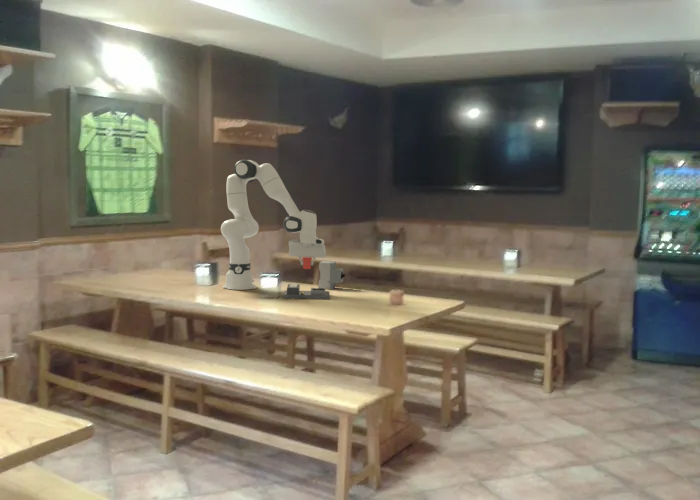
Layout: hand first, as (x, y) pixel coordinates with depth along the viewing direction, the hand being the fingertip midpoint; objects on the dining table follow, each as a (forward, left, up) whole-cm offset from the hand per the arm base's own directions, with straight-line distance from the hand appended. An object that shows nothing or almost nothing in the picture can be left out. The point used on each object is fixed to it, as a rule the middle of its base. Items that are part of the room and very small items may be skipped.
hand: (307, 265), depth 373 cm
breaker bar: (+13, -7, -12) cm, 19 cm away
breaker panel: (+13, 0, -15) cm, 20 cm away
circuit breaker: (-17, +14, -15) cm, 27 cm away
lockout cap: (0, 0, -2) cm, 2 cm away
